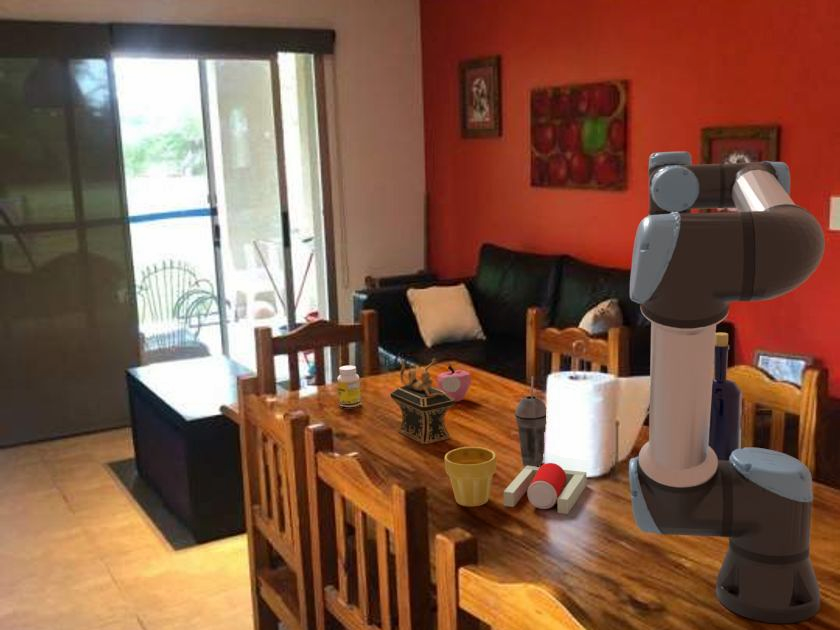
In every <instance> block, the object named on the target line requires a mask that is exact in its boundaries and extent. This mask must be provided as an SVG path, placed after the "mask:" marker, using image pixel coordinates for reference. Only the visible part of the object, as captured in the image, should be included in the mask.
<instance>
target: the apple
mask: <svg viewBox="0 0 840 630" xmlns="http://www.w3.org/2000/svg"><path fill="white" fill-rule="evenodd" d="M447 369H448V370H449V371H444V372H441V373H440V374H438V377H437V387H438V388H437V389H438V390H441V391H443V392H445V393H447V394H448V395H449V396H450V397H452V398H453V399H454V401H455V403H459V402H461V401H462V400H464V398H465V396H466V394H467V392H468V390H469V389H470V387H471V384H472V375H471V373H470V372H469V371H466V370H462V369H457V370H454V368H453V367H452V365H450V364H449V365H448V367H447Z"/></svg>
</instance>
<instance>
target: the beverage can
mask: <svg viewBox="0 0 840 630" xmlns="http://www.w3.org/2000/svg"><path fill="white" fill-rule="evenodd" d="M539 467H540V468H539V469H538V471H537V473H536V474H535V476H534V478H533V480H532V482H531V484H530V485H529V487H528V490H527V491H526V492H527V493H526V495H527V498H528V501H529V503H530V504H531V505H533V507H536V508H537V509H540V510H548V509H551V508H553V507H554V506H555V505H556V504H557V498H558V497H559V495H560V494H561V493H562V491H563V490H564V489H565V487H564V486H565V483H566V474H565V472H564V470H565V469H563V468H562V467H561V466H560V465H559V464H556V463H554V462H546V463H543V464H542V465H541V466H539Z"/></svg>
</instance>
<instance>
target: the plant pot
mask: <svg viewBox="0 0 840 630" xmlns="http://www.w3.org/2000/svg"><path fill="white" fill-rule="evenodd" d="M444 468H445V473H446V475H447V476H449V479H450V483H451V487H452V490H453V491H452V492H453V494H454V499H455V501H456V504H458V505H459V506H463V507H470V508H471V507H479V506H482V505H484V504H487V503H488V501H489V498H490V494H491V487H492V483H493V482H492V481H493V475H494V474H495V473H496V472H497V455H496V453H495V452H494V451H493V450H492V449H489V448H486V447H479V446H464V447H458V448H455V449H452V450H450V451H448V452H447V453H445V455H444Z"/></svg>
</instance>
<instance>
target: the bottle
mask: <svg viewBox="0 0 840 630" xmlns="http://www.w3.org/2000/svg"><path fill="white" fill-rule="evenodd" d="M728 343H729V333H727V332H716V334H715V349H714V365H713V381H712V396H711V412H710V428H709V443H708V446H710V447H711V448H712V449H713V451H714V452H715V454H716V456H717V459H718V460H727V461H728V460H729V459H730V456H731V454H732V452H733V451H734V450H736V449H739V448H740V449H742V409H743V407H742V405H743V401H742V400H743V390H742V389H741V387H740V386H739V385H738V383H736V381H734V380H733V379H730V378H727V376H728V356H729V354H728V353H729V350H730V344H728Z"/></svg>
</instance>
